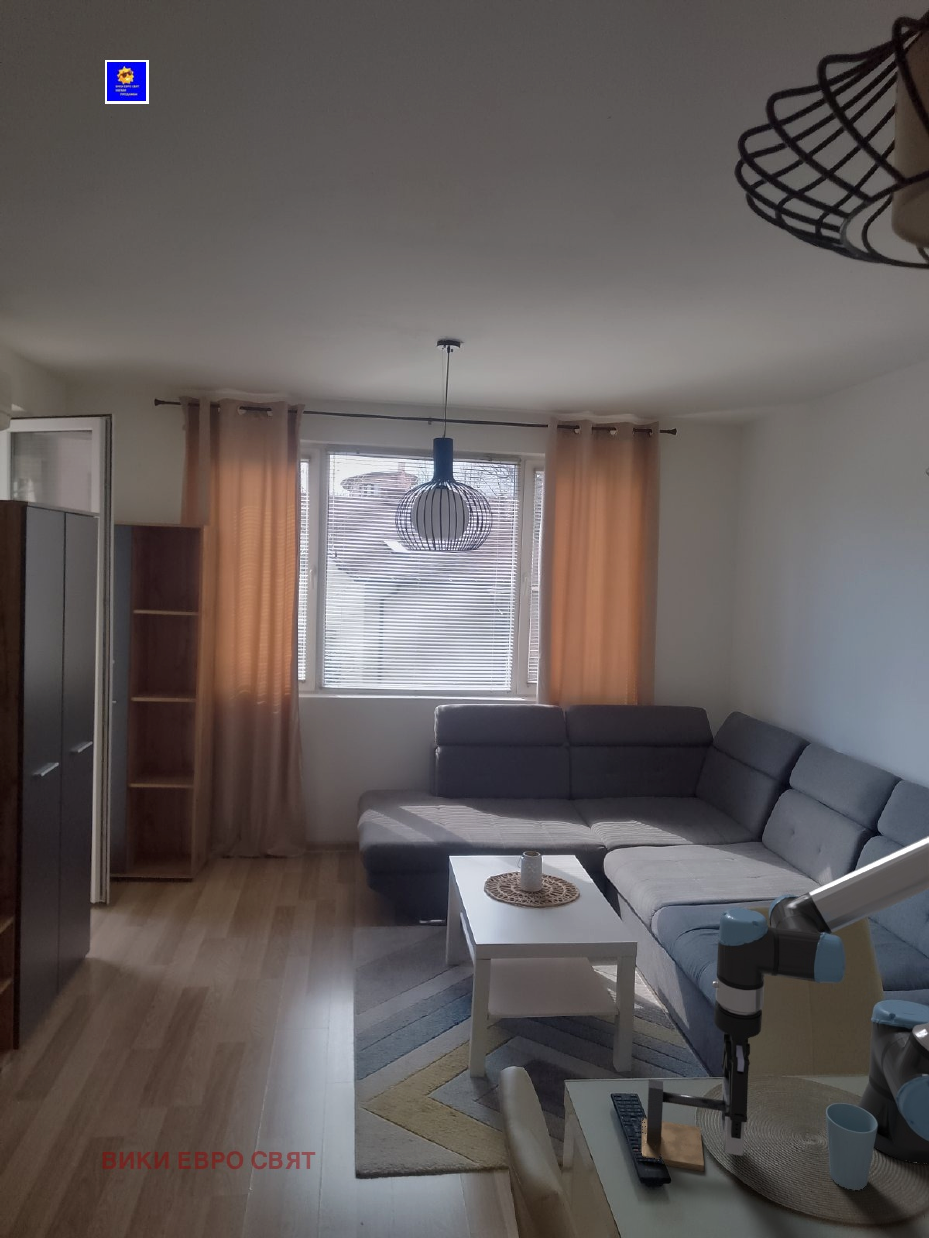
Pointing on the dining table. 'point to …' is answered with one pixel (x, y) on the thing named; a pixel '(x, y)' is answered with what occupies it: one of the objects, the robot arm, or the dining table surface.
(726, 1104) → the link
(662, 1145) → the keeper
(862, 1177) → the cup
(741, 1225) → the dining table surface
